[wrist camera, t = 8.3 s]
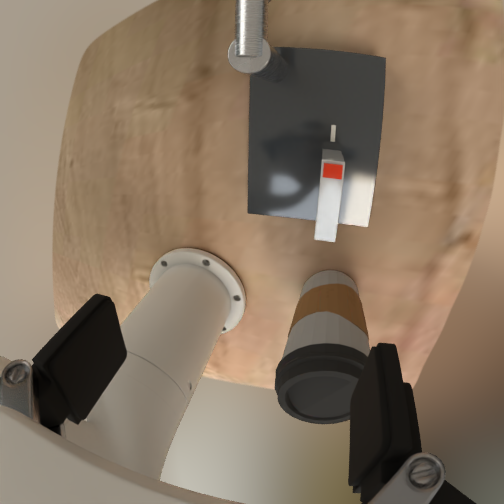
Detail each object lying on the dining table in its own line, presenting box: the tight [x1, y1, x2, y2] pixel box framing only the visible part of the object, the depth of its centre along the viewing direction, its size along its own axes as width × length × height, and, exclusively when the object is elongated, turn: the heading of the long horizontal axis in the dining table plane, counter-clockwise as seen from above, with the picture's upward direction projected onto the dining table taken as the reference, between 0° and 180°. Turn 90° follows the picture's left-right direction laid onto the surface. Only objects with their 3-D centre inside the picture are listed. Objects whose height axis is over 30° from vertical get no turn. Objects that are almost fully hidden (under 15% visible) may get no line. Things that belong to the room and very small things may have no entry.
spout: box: [228, 0, 289, 83], centre depth 17 cm, size 7×2×9 cm, turn 179°
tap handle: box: [314, 149, 345, 242], centre depth 23 cm, size 6×2×5 cm, turn 179°
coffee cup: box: [275, 270, 370, 424], centre depth 28 cm, size 8×8×15 cm
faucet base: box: [248, 47, 386, 227], centre depth 26 cm, size 17×11×4 cm, turn 179°
